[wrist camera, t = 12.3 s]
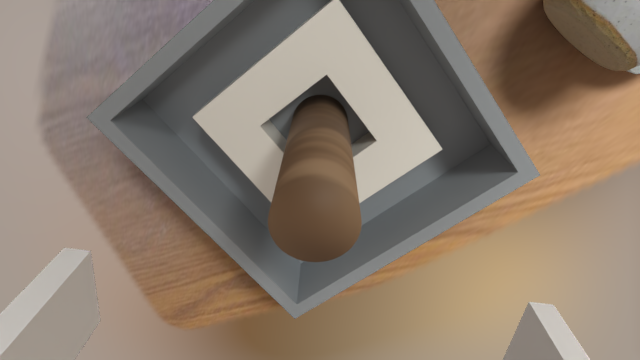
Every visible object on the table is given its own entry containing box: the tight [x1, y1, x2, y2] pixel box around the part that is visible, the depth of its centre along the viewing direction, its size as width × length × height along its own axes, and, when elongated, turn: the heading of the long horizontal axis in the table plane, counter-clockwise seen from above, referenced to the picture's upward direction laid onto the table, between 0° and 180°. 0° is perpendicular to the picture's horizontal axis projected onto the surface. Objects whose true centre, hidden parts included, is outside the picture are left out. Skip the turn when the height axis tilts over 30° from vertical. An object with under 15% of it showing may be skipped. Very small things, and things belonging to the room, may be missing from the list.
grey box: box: [86, 0, 540, 318], centre depth 29 cm, size 20×20×6 cm
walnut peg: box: [268, 95, 362, 262], centre depth 24 cm, size 4×4×14 cm
